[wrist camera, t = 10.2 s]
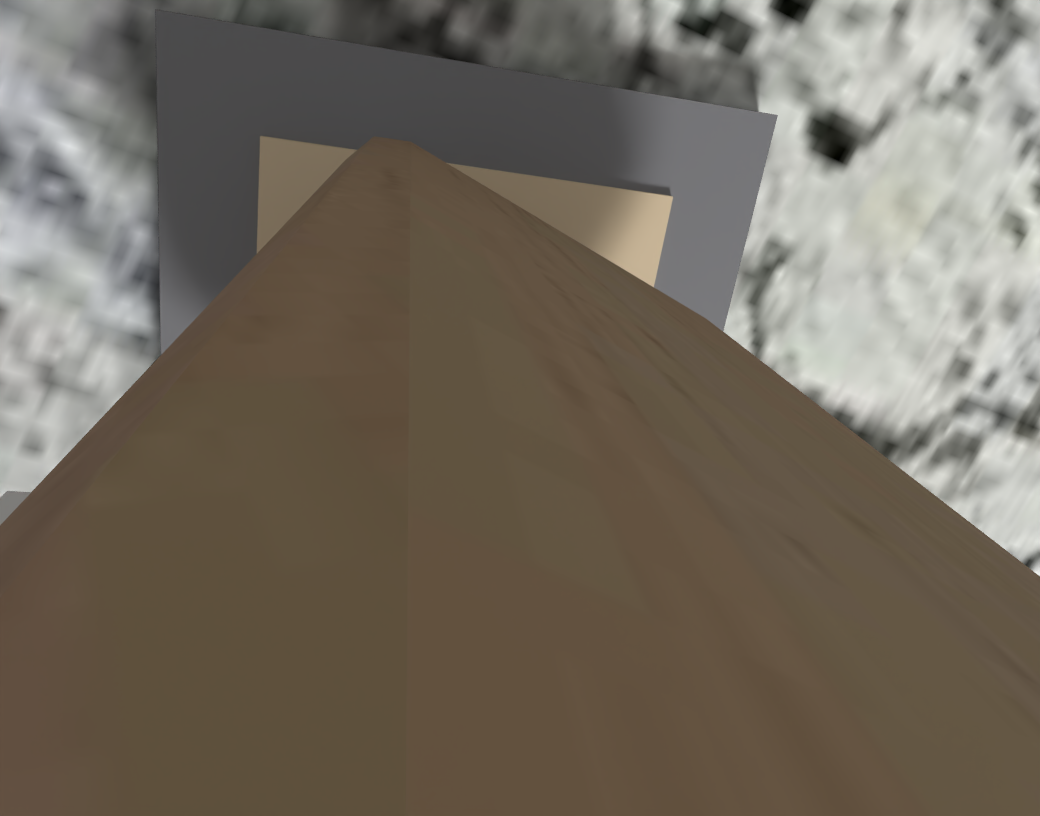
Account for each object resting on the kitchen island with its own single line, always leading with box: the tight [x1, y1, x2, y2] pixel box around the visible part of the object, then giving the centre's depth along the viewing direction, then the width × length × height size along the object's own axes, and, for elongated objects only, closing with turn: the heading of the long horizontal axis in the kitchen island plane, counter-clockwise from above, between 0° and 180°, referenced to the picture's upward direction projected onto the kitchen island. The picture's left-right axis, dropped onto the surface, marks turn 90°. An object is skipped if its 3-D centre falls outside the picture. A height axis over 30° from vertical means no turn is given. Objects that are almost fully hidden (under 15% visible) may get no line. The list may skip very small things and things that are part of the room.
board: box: [155, 9, 778, 355], centre depth 23 cm, size 16×16×1 cm
